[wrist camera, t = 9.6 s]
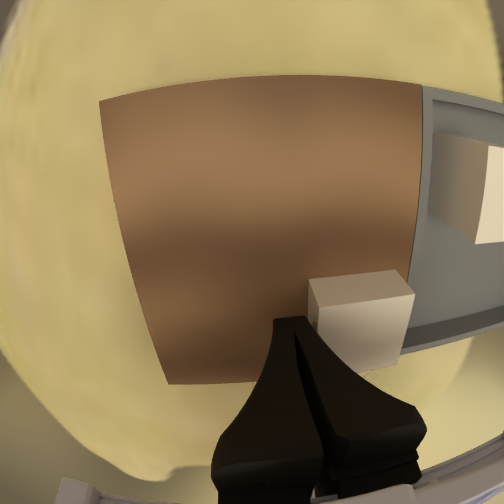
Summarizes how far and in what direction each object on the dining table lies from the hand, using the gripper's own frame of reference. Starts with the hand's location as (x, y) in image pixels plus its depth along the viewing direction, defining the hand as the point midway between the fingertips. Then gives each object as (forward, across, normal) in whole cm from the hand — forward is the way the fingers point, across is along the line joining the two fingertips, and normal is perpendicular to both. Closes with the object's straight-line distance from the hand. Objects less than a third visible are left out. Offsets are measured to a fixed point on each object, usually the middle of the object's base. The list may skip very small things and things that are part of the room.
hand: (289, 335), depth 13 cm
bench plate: (+3, 0, -3) cm, 5 cm away
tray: (+3, -12, -3) cm, 13 cm away
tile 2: (+1, -3, 0) cm, 3 cm away
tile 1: (+1, -8, -6) cm, 10 cm away
